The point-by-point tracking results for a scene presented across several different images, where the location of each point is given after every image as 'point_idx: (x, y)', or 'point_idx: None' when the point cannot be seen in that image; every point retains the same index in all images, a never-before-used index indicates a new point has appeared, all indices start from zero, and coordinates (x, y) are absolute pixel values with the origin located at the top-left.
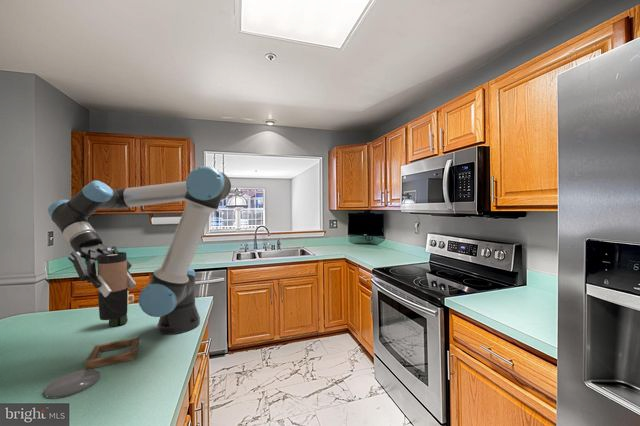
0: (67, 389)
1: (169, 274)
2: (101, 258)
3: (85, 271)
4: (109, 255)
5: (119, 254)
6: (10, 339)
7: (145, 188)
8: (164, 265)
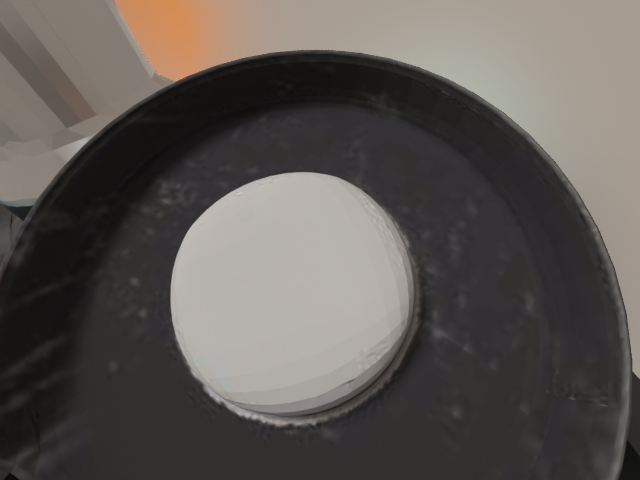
0: None
1: (156, 73)
2: (556, 233)
3: (631, 407)
4: (371, 247)
5: (51, 367)
6: None
7: None
8: (107, 48)
